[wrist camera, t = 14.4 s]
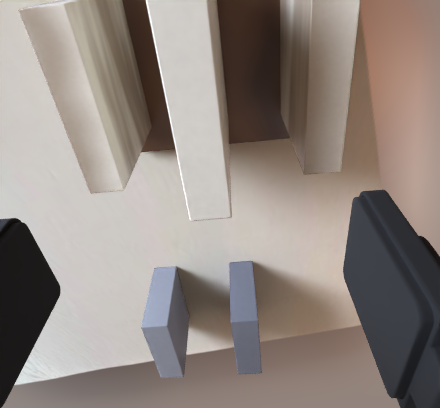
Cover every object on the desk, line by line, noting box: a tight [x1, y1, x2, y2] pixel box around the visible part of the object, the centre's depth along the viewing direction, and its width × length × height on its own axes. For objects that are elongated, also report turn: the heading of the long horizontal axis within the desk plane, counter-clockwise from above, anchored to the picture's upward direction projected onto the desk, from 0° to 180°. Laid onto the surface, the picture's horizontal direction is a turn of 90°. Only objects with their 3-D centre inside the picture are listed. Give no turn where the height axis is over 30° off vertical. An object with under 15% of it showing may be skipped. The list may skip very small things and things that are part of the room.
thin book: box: [146, 0, 232, 221], centre depth 22 cm, size 2×11×15 cm, turn 6°
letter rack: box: [18, 0, 361, 193], centre depth 24 cm, size 17×16×12 cm
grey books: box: [141, 261, 262, 378], centre depth 44 cm, size 13×11×9 cm
